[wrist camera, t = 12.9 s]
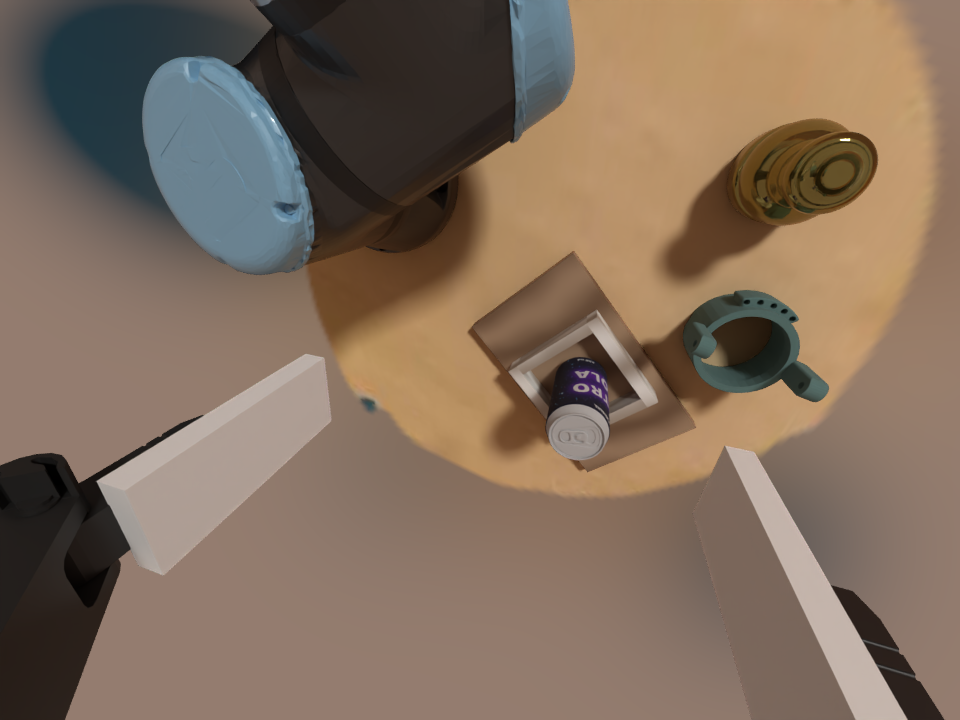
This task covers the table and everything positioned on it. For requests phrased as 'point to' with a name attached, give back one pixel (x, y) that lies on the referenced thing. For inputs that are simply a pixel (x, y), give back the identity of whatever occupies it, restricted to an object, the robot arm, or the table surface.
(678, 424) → the can holder
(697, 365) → the teal cauldron pot
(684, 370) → the table surface
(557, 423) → the beverage can
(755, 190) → the brass calibration weight
